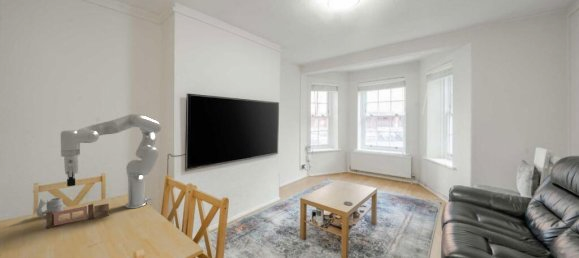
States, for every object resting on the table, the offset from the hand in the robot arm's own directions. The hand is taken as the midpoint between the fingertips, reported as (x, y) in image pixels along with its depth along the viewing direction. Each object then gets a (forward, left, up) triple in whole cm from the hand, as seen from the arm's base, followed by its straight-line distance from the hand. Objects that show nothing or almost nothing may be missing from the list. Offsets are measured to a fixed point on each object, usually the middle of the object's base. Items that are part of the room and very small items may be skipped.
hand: (71, 185), depth 124 cm
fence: (-3, -6, -23) cm, 24 cm away
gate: (+1, -5, -22) cm, 23 cm away
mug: (+10, -23, -23) cm, 34 cm away
